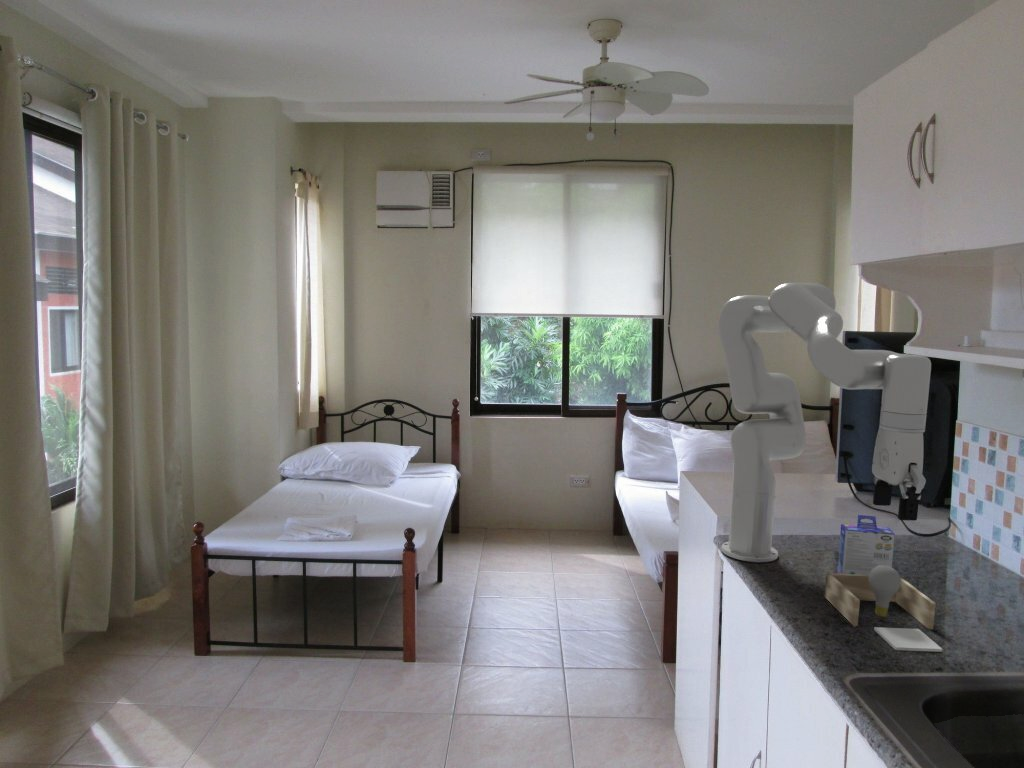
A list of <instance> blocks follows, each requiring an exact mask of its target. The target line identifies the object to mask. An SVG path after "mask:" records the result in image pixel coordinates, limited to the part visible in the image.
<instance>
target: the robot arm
mask: <svg viewBox="0 0 1024 768" xmlns="http://www.w3.org/2000/svg"><path fill="white" fill-rule="evenodd" d="M835 309H836V298H835V295H834V293H833V292H832V290H830V288H829V287H827V286H825V285H823V284H820V283H812V282H811V283H810V282H787V283H783V284H780V285H778V286H776V287H775V288H774V289H773V290H772V291H771V292H770V294H769V295H757V294H756V295H755V294H754V295H753V294H750V295H749V294H748V295H747V294H745V295H738V296H735V297H732V298H730V299H729V300H728V301H726V302H725V303H724V304H723V306H722V307H721V310H720V312H719V315H718V321H717V331H718V336H719V341H720V344H721V346H722V350H723V354H724V357H725V361H726V362H725V363H726V369H727V375H728V383H729V388H730V389H729V390H730V396H731V400H732V405H733V407H734V409H735V410H736V411H738V412H739V413H741V414H746V415H758V414H761V415H763V414H765V415H766V414H768V415H769V418H759V419H757V418H756V419H748V420H744V421H742V422H740V423H738V424H737V425H736V426H735V427H734V428H733V430H732V431H731V436H730V445H731V452H732V453H731V454H732V463H733V464H732V466H733V467H732V491H731V505H730V517H729V518H730V519H729V530H728V531H729V532H728V533H729V534H728V541H725V542H723V543H722V544H721V552H722V553H723V554H724V555H726V557H727V556H728V557H730V558H732V559H734V560H735V559H736V560H738V561H742V562H743V561H744V562H749V563H769V562H773V561H776V560H777V559H778V558H779V557H778V556H779V552H778V550H777V549H776V548H774V547H773V546H772V543H773V542H772V540H773V530H774V529H773V528H774V516H775V515H774V514H775V501H776V489H777V480H776V475H775V473H774V470H773V468H772V466H771V463H770V462H771V461H778V460H779V461H780V460H781V461H782V460H789V459H796V458H797V457H799V456H800V455H801V454H802V453H803V452H804V450H805V447H806V443H807V434H806V426H805V421H804V415H803V409H802V408H803V407H802V403H801V402H802V401H801V397H800V396H801V395H800V391H799V388H798V386H797V384H796V383H795V381H794V380H793V378H791V376H790V375H788V374H785V373H782V372H768V371H767V368H766V364H765V363H766V362H765V356H764V353H763V350H762V348H761V346H760V345H759V343H758V341H757V340H756V339H755V338H754V337H753V335H752V334H753V333H770V334H772V333H773V334H775V333H776V334H781V333H789V332H793V333H794V334H795V335H796V336H797V337H799V339H801V340H802V341H804V342H805V344H806V350H807V355H808V357H809V360H810V361H809V362H810V363H811V364H812V366H813V367H814V368H815V369H816V370H817V371H818V372H819V373H820V374H821V375H823V377H824V378H826V379H827V381H829V382H830V383H831V384H834V385H836V386H837V387H839V388H841V389H844V390H850V391H851V390H852V391H853V390H882V392H881V393H882V395H881V405H880V406H881V407H880V416H879V425H878V426H879V427H878V431H877V434H876V439H875V444H874V449H873V457H872V463H871V464H872V465H871V472H872V474H873V476H874V477H873V483H874V485H873V486H874V487H873V488H874V489H873V498H872V504H873V505H874V506H887V507H889V506H891V503H892V493H893V486H899V489H900V493H901V497H899V502H898V512H897V518H898V520H900V521H917V520H918V513H919V502H920V500H921V498H922V494H923V493H924V488H925V485H926V482H927V480H926V478H925V476H924V475H923V467H924V433H925V432H926V426H927V425H926V423H927V416H928V415H927V413H928V411H927V410H928V405H929V404H928V403H929V395H930V393H929V392H930V384H931V372H932V362H931V359H930V358H929V357H927V356H925V355H920V354H911V353H898V352H894V351H892V350H885V349H850V348H849V347H847V346H846V345H845V344H843V343H842V342H841V341H840V340H838V339H837V338H838V337H839V336H840V334H841V332H842V330H843V326H844V321H843V318H842V316H841V314H840V313H839V312H837V311H836V310H835ZM908 488H909V489H908Z"/></svg>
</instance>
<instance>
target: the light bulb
mask: <svg viewBox="0 0 1024 768" xmlns="http://www.w3.org/2000/svg"><path fill="white" fill-rule="evenodd" d="M900 577H901V575H900V574H899V573H898V571H897V570H896V569H895V568H893V566H892V567H889V566H886V565H880V566H876V567H875V568H873V569H872V570H871V572H870V574H869V579H868V580H869V584H870V587H871V589H872V591H873V593H874V595H875V597H876V601H875V612H874V613H875V615H876V616H878V617H879V618H880V619H881V618H885V617H888V611H889V610H888V609H889V608H890V602H891V601H890V599H891V598H892V597H893V596H894V594H895V593H896V592H897V591H898V590H899V587H900V584H901V580H900Z"/></svg>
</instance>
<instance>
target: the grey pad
mask: <svg viewBox="0 0 1024 768" xmlns="http://www.w3.org/2000/svg"><path fill="white" fill-rule="evenodd" d="M873 630H874V631H875V632H876V633H877V635H878V636H880V637H881V638H882V639H883V640H884V641H886V643H887V644H888V645H889V646H890V647H892V648H893V649H894V651H910V652H912V651H913V652H914V651H915V652H933V653H934V652H936V653H937V652H938V653H939V652H940V653H943V648H942V647H941V646H939V645H938V644H937V643H936V642H935V641H934V640H933V639H931V638H930V637H929V636H927V634H925V633H924V632H923V631H922V630H921V629H919V628H907V627H906V628H905V627H904V628H902V627H878V626H877V627H876V626H875V627H873Z"/></svg>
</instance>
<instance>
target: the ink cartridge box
mask: <svg viewBox="0 0 1024 768" xmlns="http://www.w3.org/2000/svg"><path fill="white" fill-rule="evenodd" d="M865 519H867V520H870V521H872V522H863V521H861V520H865ZM839 536H840V537H839V551H838V564H837V574H857V575H869V574H870V572H871V570H872V569H873V568H875V567H876V566H880V565H886V566H889V567H892V568H893V559H894V558H893V557H894V545H895V536H896V534H895V533H894V532H893V530H891V528H890V527H887V526H878V525H877V519H876V516H873V515H863V514H857V524H844V523H842V524H840V535H839Z"/></svg>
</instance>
